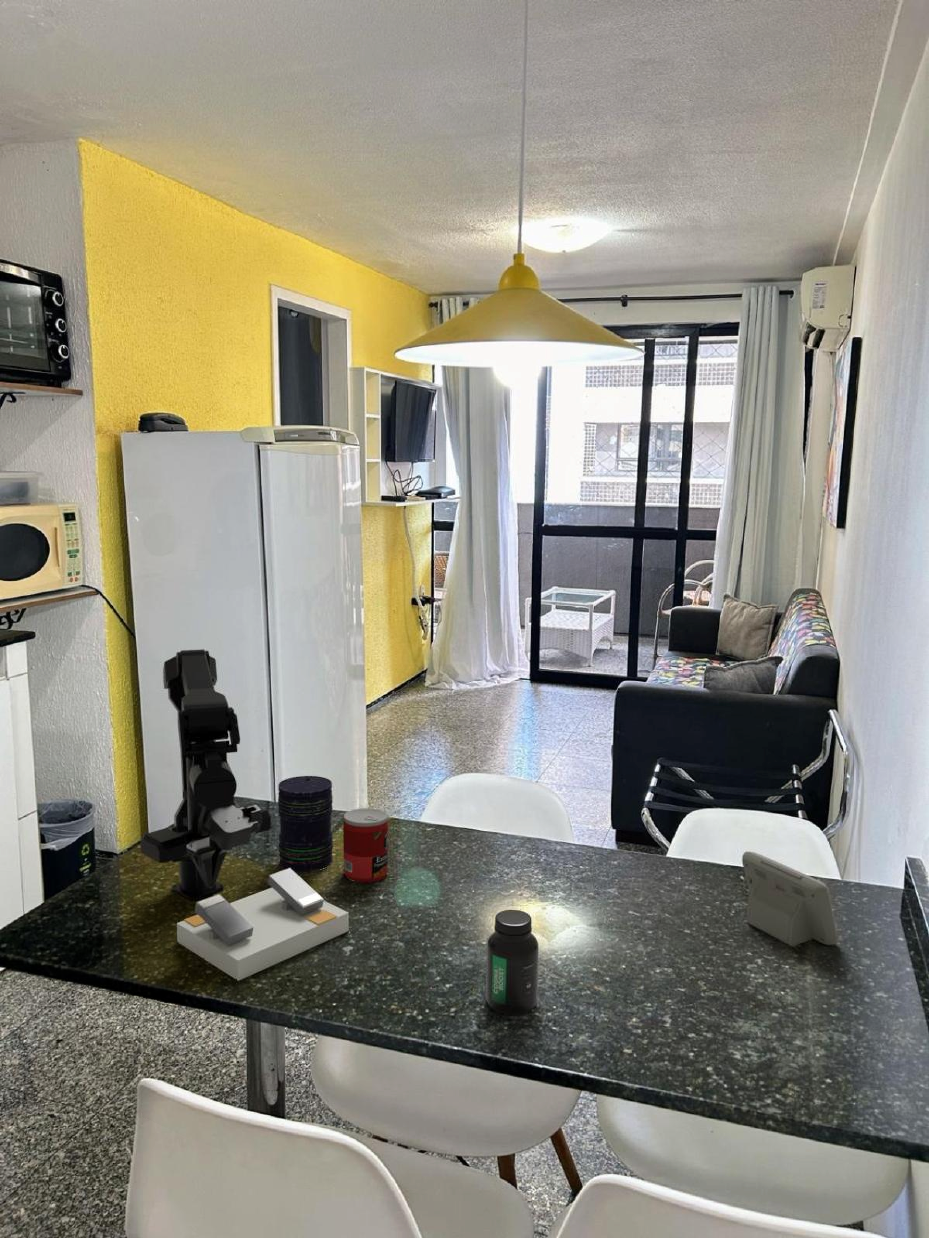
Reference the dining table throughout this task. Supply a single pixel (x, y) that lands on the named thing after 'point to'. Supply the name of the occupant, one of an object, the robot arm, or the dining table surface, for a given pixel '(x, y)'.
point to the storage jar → (305, 823)
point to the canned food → (365, 844)
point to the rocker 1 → (224, 919)
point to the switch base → (263, 934)
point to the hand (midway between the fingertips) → (210, 886)
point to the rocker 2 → (295, 891)
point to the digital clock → (787, 902)
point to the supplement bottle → (512, 964)
